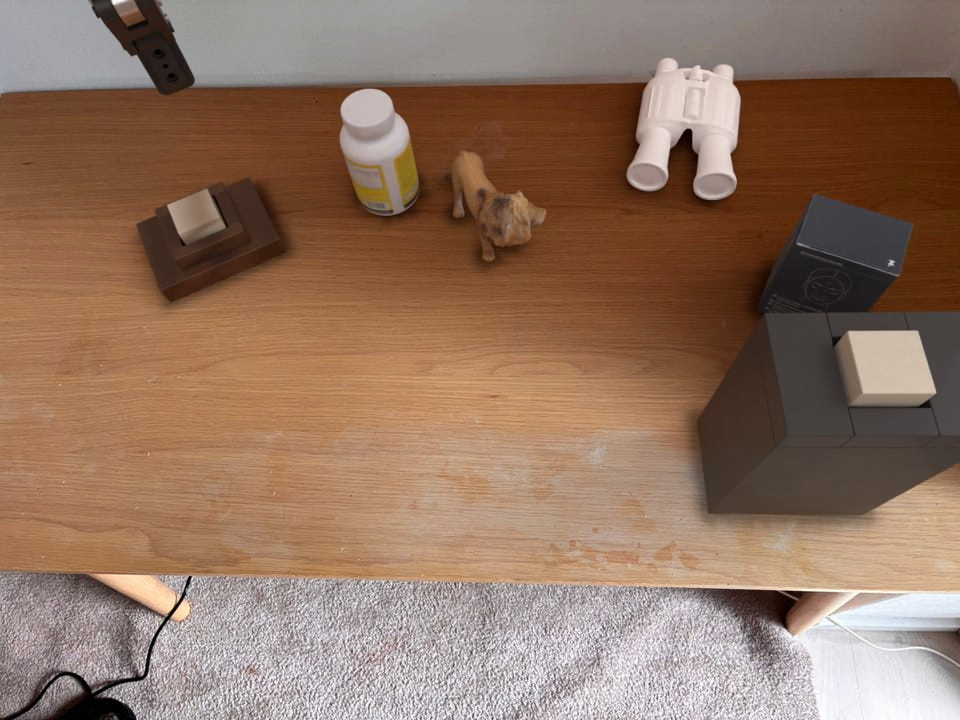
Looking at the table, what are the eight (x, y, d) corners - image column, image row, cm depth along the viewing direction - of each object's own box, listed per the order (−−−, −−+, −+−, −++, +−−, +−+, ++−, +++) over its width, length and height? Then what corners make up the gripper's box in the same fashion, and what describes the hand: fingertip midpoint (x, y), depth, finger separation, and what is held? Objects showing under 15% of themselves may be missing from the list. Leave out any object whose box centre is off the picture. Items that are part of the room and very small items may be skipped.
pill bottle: (419, 167, 72) (403, 77, 62) (421, 216, 69) (404, 130, 59) (358, 172, 72) (331, 84, 62) (357, 221, 70) (329, 137, 59)
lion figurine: (550, 261, 66) (555, 200, 58) (505, 289, 65) (504, 231, 57) (464, 168, 72) (458, 101, 64) (422, 192, 71) (410, 127, 63)
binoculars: (623, 191, 70) (629, 158, 65) (642, 80, 76) (649, 44, 72) (729, 206, 68) (742, 173, 64) (738, 91, 75) (752, 55, 71)
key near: (846, 407, 40) (862, 393, 38) (832, 347, 42) (847, 330, 40) (917, 408, 40) (937, 393, 38) (900, 346, 41) (918, 329, 40)
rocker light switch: (170, 303, 66) (150, 280, 63) (146, 237, 70) (126, 212, 66) (286, 252, 68) (273, 227, 65) (256, 190, 72) (242, 164, 68)
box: (856, 294, 63) (916, 222, 53) (841, 344, 61) (901, 278, 51) (771, 265, 65) (814, 190, 55) (753, 312, 63) (795, 242, 53)
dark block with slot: (708, 513, 55) (787, 435, 39) (696, 420, 58) (764, 312, 42) (863, 515, 54) (1009, 436, 38) (841, 420, 58) (967, 311, 41)
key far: (186, 245, 65) (178, 234, 63) (174, 216, 66) (166, 204, 65) (226, 228, 65) (219, 217, 64) (214, 200, 67) (206, 188, 66)
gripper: (-152, -331, 28) (89, 41, 43) (-119, -182, 22) (145, 183, 38) (33, -379, 29) (203, -1, 44) (109, -250, 23) (273, 130, 39)
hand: (176, 83), depth 41 cm, fingers closed
